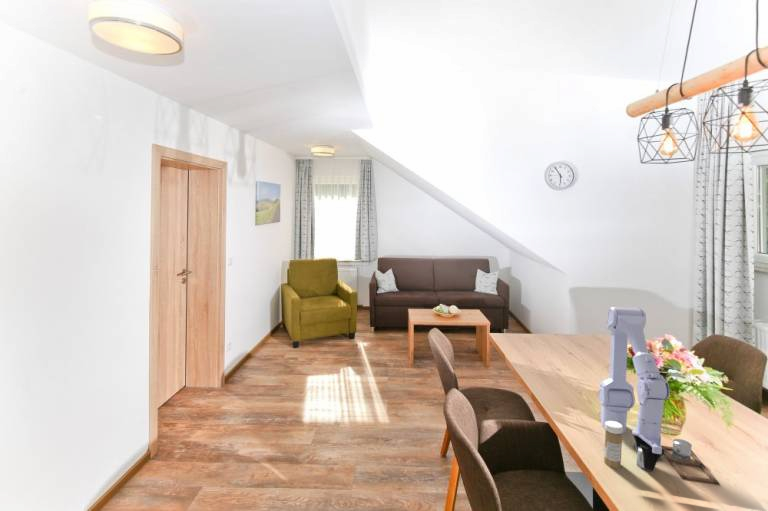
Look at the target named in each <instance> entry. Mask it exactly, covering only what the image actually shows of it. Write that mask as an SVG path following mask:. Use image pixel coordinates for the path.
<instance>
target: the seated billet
mask: <svg viewBox="0 0 768 511" xmlns="http://www.w3.org/2000/svg"><path fill="white" fill-rule="evenodd" d="M672 441H673V442H672V447H673V450H672V452H671V457H672V458H674V459H675V460H679V461H686V462H691V459H692V457H691V450H692V444H691V442H689V441H686V440H684V439H680V438H674V439H673V440H672Z"/></svg>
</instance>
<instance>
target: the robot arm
mask: <svg viewBox="0 0 768 511" xmlns="http://www.w3.org/2000/svg"><path fill="white" fill-rule="evenodd" d="M646 315H647V314H646V312H645V311H644V309H643V308H642V307H636V308H635V307H618V306H617V307H616V306H611V307H610V308H609V309H608V310H607V311H606V329H607V330H609V331H610V347H609V348H610V350H609V351H610V352H609V353H610V354H609V376H608V378H606V379H604V380H602V381H600V384H599V389H598V394H597V397H598V401H599V403H600V404H601V408H600V419H599V420H600V422H601V427H602V429H604V430H605V422H606V421H615V422H618V423H620V424H621V425H622V426H623V432H622V435H623V434H625V433H626V432H627V423H628V422H627V421H628V412H630V411H631V409H632V408H633V407H634V406H635V404H636V397H635V390H634V387H633V385H632V384H631V383H629V382H628V381H627V368H628V367H627V363H628V362H627V361H628V360H627V358H628V340H629V343H630V345H631V348H632V350H633V351H632V352H633V353H634V355H633V357H632V363H633V366H634V369H635V372H636V376H637V382H636V391H637V401H638V402H639V403H638V412H637V414H638V416H637V421H636V423H635V428H636V429H632V431H631V433H632V435H633V438H634V441H635V443H636V446H637V452H638V447H639V446H640V447H641V449H642V452H643V462H644V468H645V469H647V470H654V468H655V469H656V465H657V463H658V461H659V460H658V459H659V458H660V457H661V456H662V457H663V455H664V450H663V448H662V447H661V446H662V435H661V434H662V423H663V415H664V414H663V413H664V405H665V404H664V402H665V401H667V400H668V399H669V398H670V385H669V382H668V380H666V379H665V378H664V376H663V375H662V374H660V373H661V372H660V370H659V368H658V365H657V361H656V359H655V356H654V355H653V354H651V353H649V351H648V350H649V349H648V345H647V342H646V337H645V333H644V329H645V326H646V323H647V316H646ZM664 400H665V401H664ZM637 452H636V453H637ZM654 471H655V470H654Z"/></svg>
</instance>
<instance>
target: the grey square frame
mask: <svg viewBox="0 0 768 511" xmlns="http://www.w3.org/2000/svg"><path fill="white" fill-rule="evenodd" d="M632 447H633V449H634V450H635V452H636V453H637V446H636V442H635V443H634V442H633V445H632ZM658 461H663V455H662V456H661V457H660V458H659V459H658Z"/></svg>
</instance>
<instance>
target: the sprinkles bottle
mask: <svg viewBox="0 0 768 511" xmlns="http://www.w3.org/2000/svg"><path fill="white" fill-rule="evenodd" d="M604 430H605V431H604V432H605V433H604V434H605V436H604V449H603V450H604V452H603V456H604V460H603V462H604V464H605V465H606V466H608V467H610V468H611V469H612V468H613V469H619V468H621V463H622V462H621V461H622V450H623V449H622V446H623V445H622V444H623V440H622V438H623V434H622V432H623V426H622V425H621V424H620V423H618V422H615V421H606V422H605V429H604Z"/></svg>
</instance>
